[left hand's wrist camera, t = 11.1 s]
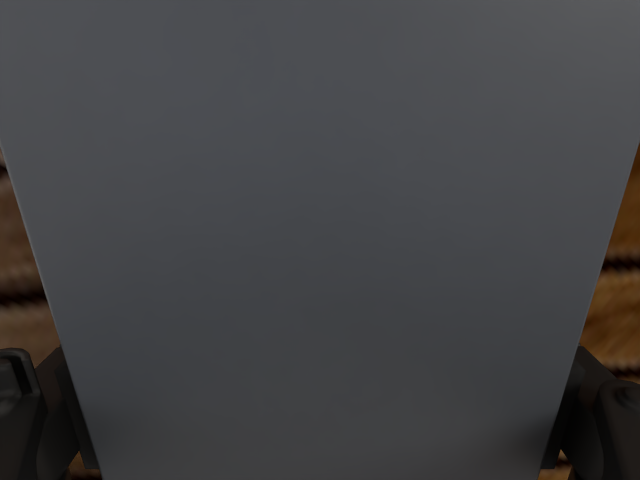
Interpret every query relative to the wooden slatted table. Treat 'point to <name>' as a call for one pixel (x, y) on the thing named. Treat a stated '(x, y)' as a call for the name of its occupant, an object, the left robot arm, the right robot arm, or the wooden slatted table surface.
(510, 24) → the long dark gray bar
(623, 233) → the wooden slatted table surface
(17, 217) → the wooden slatted table surface
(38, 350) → the wooden slatted table surface
